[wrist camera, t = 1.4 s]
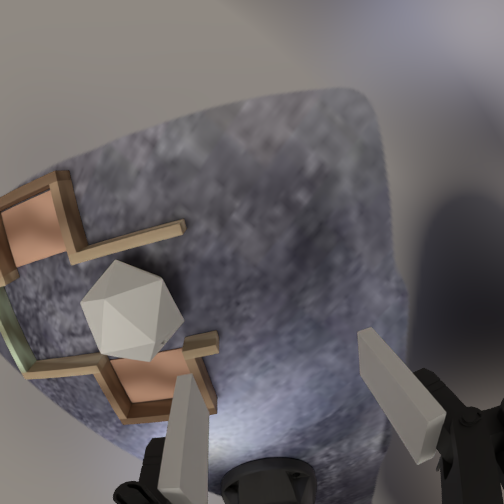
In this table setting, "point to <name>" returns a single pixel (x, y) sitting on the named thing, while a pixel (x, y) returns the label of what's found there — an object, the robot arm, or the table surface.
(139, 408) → the channel
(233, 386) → the table surface
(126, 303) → the die
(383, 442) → the table surface
